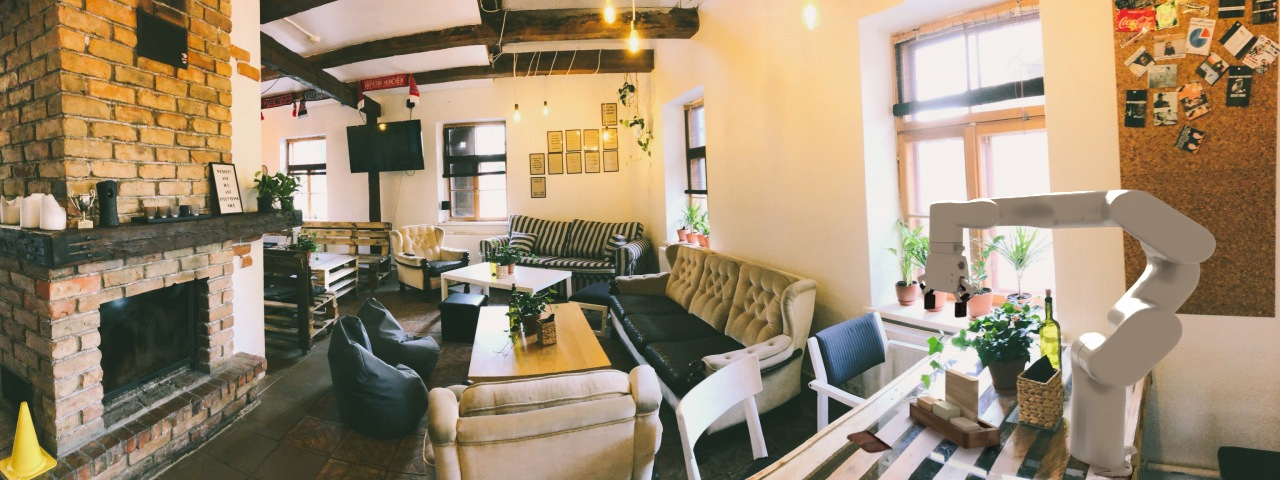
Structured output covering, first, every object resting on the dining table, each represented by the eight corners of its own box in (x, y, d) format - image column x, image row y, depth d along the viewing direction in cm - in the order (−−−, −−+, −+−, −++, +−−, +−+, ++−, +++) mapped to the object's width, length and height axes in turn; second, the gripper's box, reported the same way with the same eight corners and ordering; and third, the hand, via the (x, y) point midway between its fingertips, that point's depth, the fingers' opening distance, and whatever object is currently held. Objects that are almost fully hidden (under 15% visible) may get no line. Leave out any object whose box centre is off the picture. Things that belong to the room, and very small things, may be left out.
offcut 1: (929, 415, 145) (929, 395, 145) (942, 423, 141) (942, 402, 140) (917, 417, 145) (917, 397, 144) (930, 425, 140) (930, 404, 139)
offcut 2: (963, 434, 134) (963, 416, 133) (978, 443, 129) (979, 424, 128) (949, 436, 133) (950, 418, 133) (965, 445, 128) (965, 426, 128)
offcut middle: (945, 425, 140) (945, 400, 139) (960, 433, 135) (960, 408, 134) (932, 426, 139) (933, 402, 138) (947, 435, 134) (947, 409, 133)
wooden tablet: (919, 417, 146) (949, 427, 137) (919, 425, 146) (950, 435, 137) (843, 434, 139) (869, 446, 129) (844, 442, 138) (870, 454, 129)
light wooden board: (951, 420, 142) (951, 368, 141) (977, 434, 133) (978, 380, 132) (944, 421, 142) (945, 369, 141) (971, 435, 133) (972, 380, 132)
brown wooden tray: (940, 416, 148) (940, 398, 147) (1000, 449, 128) (1000, 429, 128) (909, 420, 146) (909, 402, 146) (965, 454, 126) (966, 434, 126)
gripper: (987, 250, 123) (986, 319, 124) (930, 244, 140) (929, 305, 141) (962, 252, 121) (961, 322, 123) (908, 246, 138) (907, 307, 139)
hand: (944, 313), depth 132 cm, fingers open, 9 cm apart
